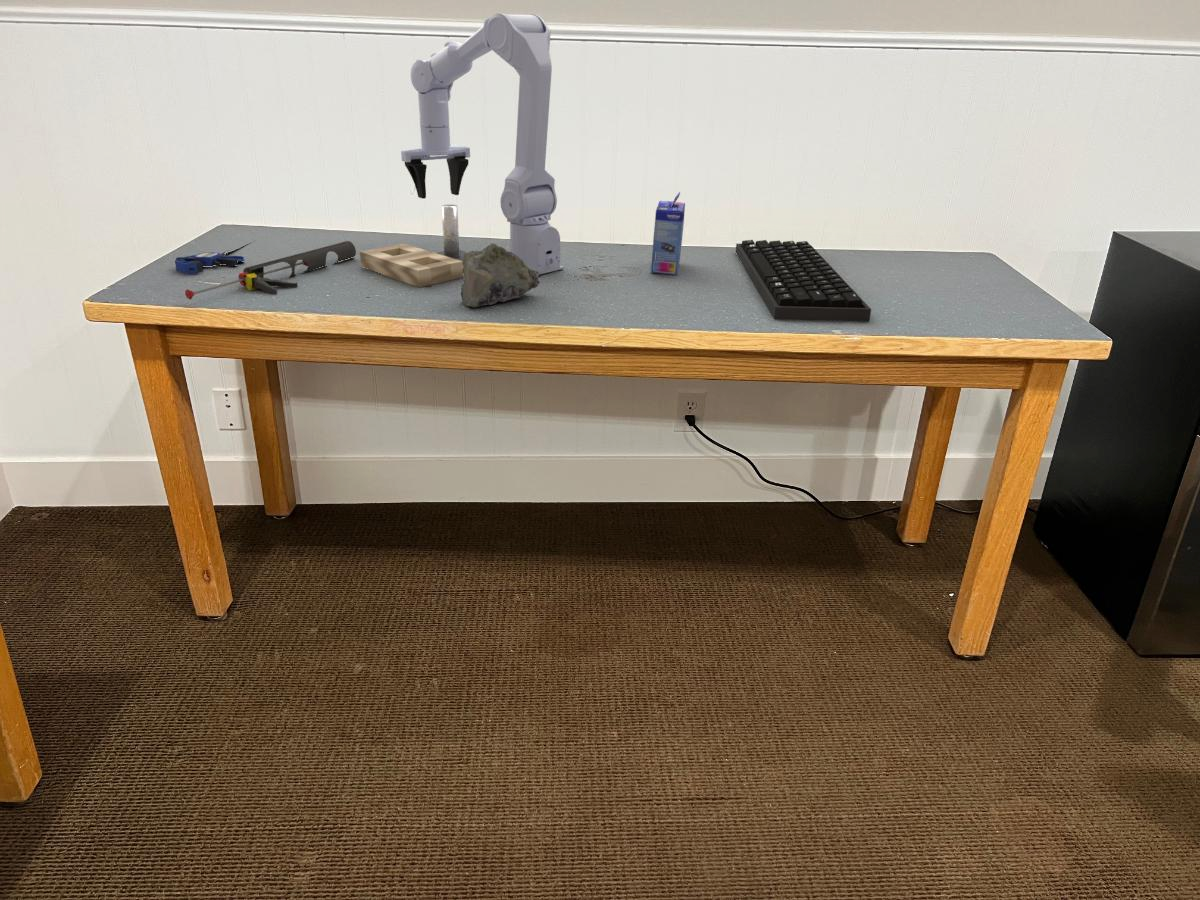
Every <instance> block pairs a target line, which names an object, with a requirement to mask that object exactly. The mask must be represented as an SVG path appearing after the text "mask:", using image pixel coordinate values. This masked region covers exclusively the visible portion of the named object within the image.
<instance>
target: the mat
mask: <svg viewBox="0 0 1200 900" xmlns="http://www.w3.org/2000/svg"><path fill="white" fill-rule="evenodd" d="M465 252H466V251H465V250H462V249H459V256H460V257H459V258H458V259H457V260H460V261H462V262H463V257H464V254H465ZM436 253H437V254H440V255H443V256H444V250H443V251H438V252H436ZM463 265H464V264H463Z"/></svg>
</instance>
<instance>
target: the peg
mask: <svg viewBox="0 0 1200 900" xmlns="http://www.w3.org/2000/svg"><path fill="white" fill-rule="evenodd" d="M458 214H459V213H458V205H456V204H443V205H441V217H442V222H441V223H442V238H443V239H442V240H443V251H444V256H447V257H450V258H453V259H458V258H459V257H460V256H459V250H460V238H459V234H460V233H459V216H458Z"/></svg>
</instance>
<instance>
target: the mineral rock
mask: <svg viewBox="0 0 1200 900" xmlns="http://www.w3.org/2000/svg"><path fill="white" fill-rule="evenodd" d="M463 264H464V265H463V270H462V272H463V283H462V284H461V286H460V289H461V293H460V297H461V300H462V302H463V304H464V305H465V307H470V308H471V307H472V308H477V307H481V306H486V305H489V306H491V305H495V304H497V303H498V302H499V303H504V302H506V301H507V302H508V301H510V300H512V299H519V298H521V297H522V296H524V295H525V294H526V293H528V292H529V291H531V290H532V289H535V288H537V287H538V286H539V284H540V283H541V282H540V281H539V277H540V276H539V275H541V274H540V273H539V272H538V271H536V270H534V269H529V268H528V267H527V266H526V265H525V264H524V262H523V260H522V259H520V258H519V257H518V256H516V255H515V254H513V253H512V252H511V251H508V250H507V249H506V248H503V247H501V246H499V245H497V244H495V243H491V244H487V246H485V247H484V248H483V249H482V250H475V251H474V250H470V251H465V254H464V257H463Z"/></svg>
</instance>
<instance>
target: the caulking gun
mask: <svg viewBox="0 0 1200 900" xmlns="http://www.w3.org/2000/svg"><path fill="white" fill-rule="evenodd" d="M329 252H332V253H335V254H336V256H337V260H336V262H338V261H341V260H345V259H348V258H351V257H354V256H355V257H356V255H357V250H356V247H355V245H354V243H353V242H352V241H350V240H344V241H342V242H341V241H340V242H338V243H335V244H330V245H326V246H323V247H319V248H315V249H312V250H308V251H303V252H300V253H296V254H293V255H289V256H285V257H282V258H278V259H274V260H270V261H269V260H268V261H265V262H262V263H258V264H255V265H251V266H250V265H249V266H246V267H245V268H244V269H243V271H242V272H241V273H239V274H238V279H235V280H232V281H228V282H224V283H221V284H217V285H213V286H210V287H206V288H203V289H199V290H195V291H194V290H193V291H192V290H190V289H185V292H184V294H185V297H186V298H187V299H188V300H192V299H193V297H194V296H195V295H197V294H200V293H204V292H208V291H211V290H215V289H219V288H222V287H226V286H230V285H233V284H236V283H239V284H240V285H241V286H243V287H245V288H246V289H247V290H248V291H254V290H257V289H258V290H259V289H260V290H262V291H263V292H264V293H268V294H274V295H277V294H278V290H277V289H276V288H275V287H278V288H286V289H288V287H290V288H298V286H299V285H298V282H288V281H285V280H279V279H273V278H268V277H265V275H269V274H272V273H276V272H280V271H282V270H287V269H291V274H290V275H289V276H292V277H294V276H293V275H295V276H296V273H295V272H296V271H295V269H296V267H297V266H301V265H303V266H305V267H307V268H306V270H305V271H304V272H306V271H309V272H311V271H310V270H312V271H314V270H313V269H316V268H319V267H322V266H325V265H326V266H327V256H328V254H329ZM355 257H354V258H355ZM299 260H300V261H301V262H298V261H299ZM297 262H298V263H297ZM280 263H286V264H288V265H286V266H285V265H284V266H281V267H279V268H275V269H271V270H268V271H264V270H265V267H268V266H273V265H276V264H280ZM319 269H320V268H319ZM316 270H317V269H316ZM306 273H307V272H306Z"/></svg>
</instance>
